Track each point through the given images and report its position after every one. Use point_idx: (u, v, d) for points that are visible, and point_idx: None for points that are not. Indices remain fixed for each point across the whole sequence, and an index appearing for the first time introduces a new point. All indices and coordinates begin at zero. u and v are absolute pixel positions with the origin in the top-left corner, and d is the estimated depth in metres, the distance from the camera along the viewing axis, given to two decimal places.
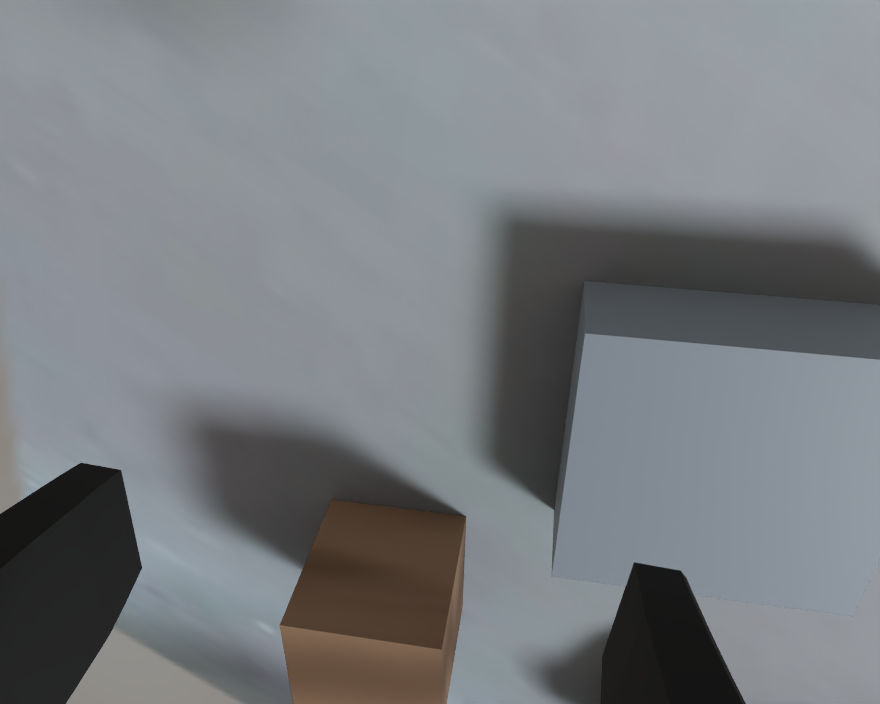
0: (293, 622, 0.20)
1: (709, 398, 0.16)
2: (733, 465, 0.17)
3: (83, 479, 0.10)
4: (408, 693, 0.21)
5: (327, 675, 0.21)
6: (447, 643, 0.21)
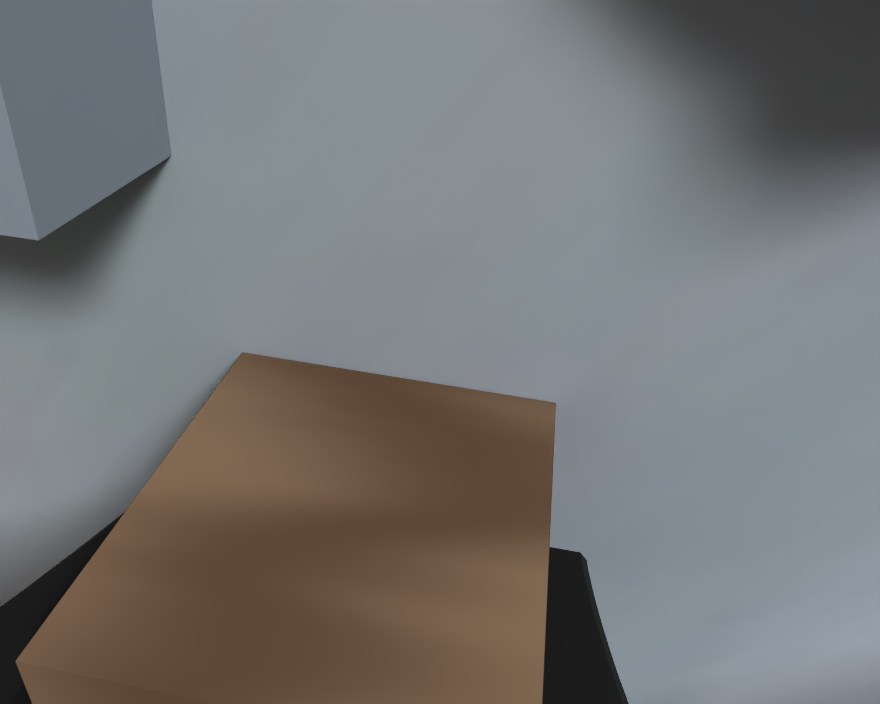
0: None
1: None
2: None
3: None
4: None
5: None
6: (221, 582, 0.07)
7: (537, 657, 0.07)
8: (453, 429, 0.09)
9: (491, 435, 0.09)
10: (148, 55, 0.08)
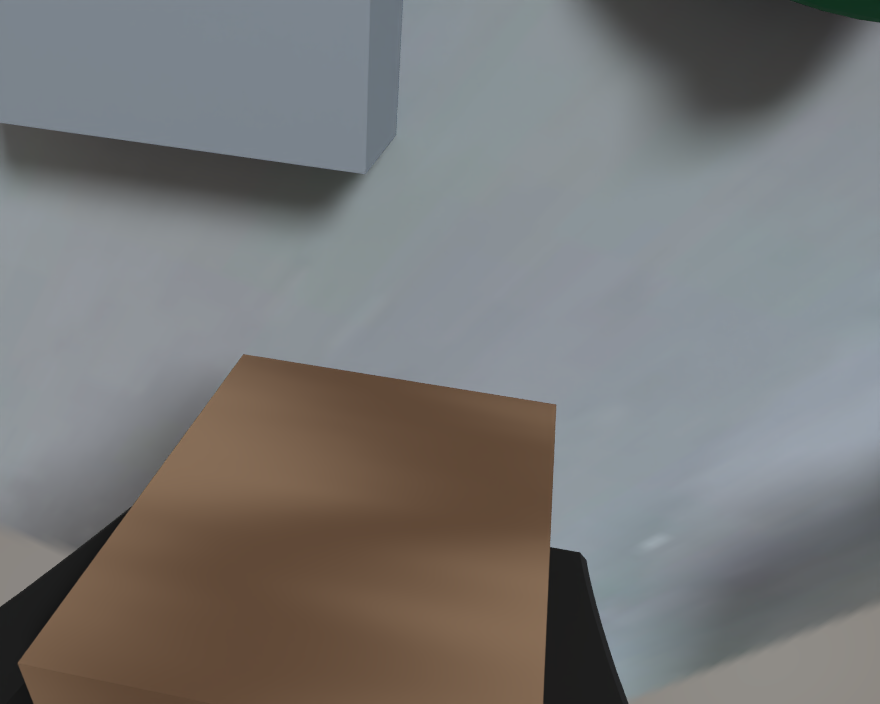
0: None
1: None
2: None
3: None
4: None
5: None
6: (223, 583, 0.07)
7: (537, 658, 0.07)
8: (454, 431, 0.09)
9: (492, 437, 0.09)
10: (396, 78, 0.15)
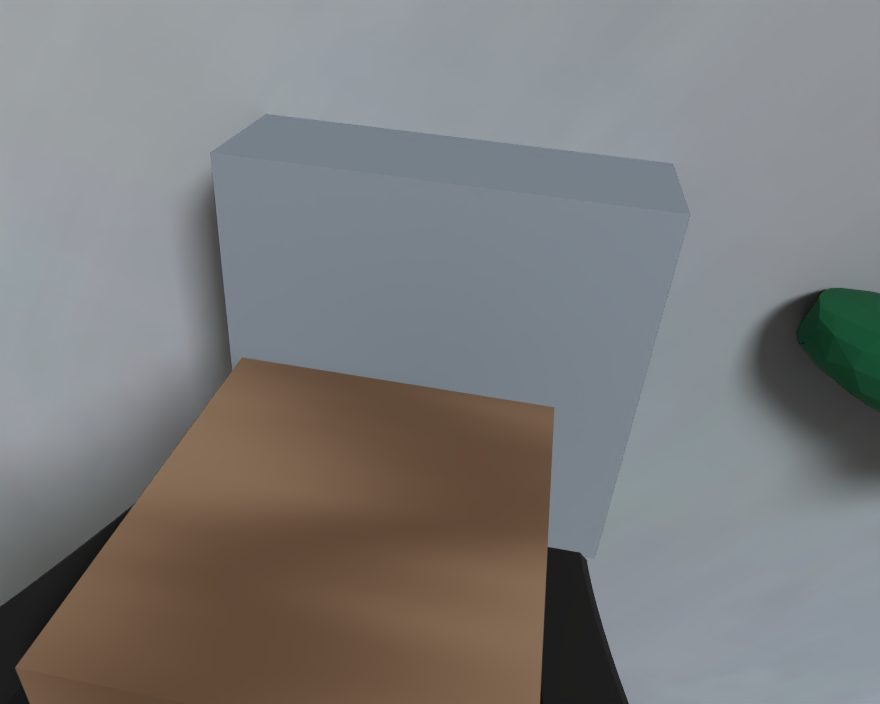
0: None
1: None
2: (389, 379, 0.14)
3: None
4: None
5: None
6: (220, 588, 0.07)
7: (534, 661, 0.07)
8: (452, 434, 0.09)
9: (490, 440, 0.09)
10: None
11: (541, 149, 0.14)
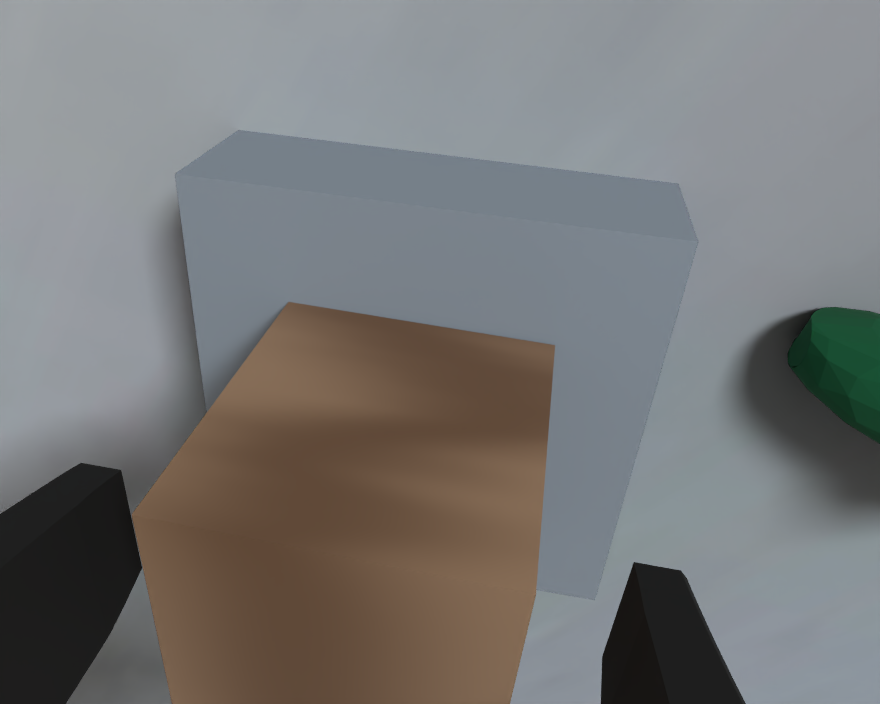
0: None
1: None
2: None
3: (83, 479, 0.10)
4: (327, 609, 0.08)
5: None
6: (285, 467, 0.09)
7: (535, 523, 0.08)
8: (468, 363, 0.11)
9: (500, 368, 0.11)
10: None
11: (536, 166, 0.13)
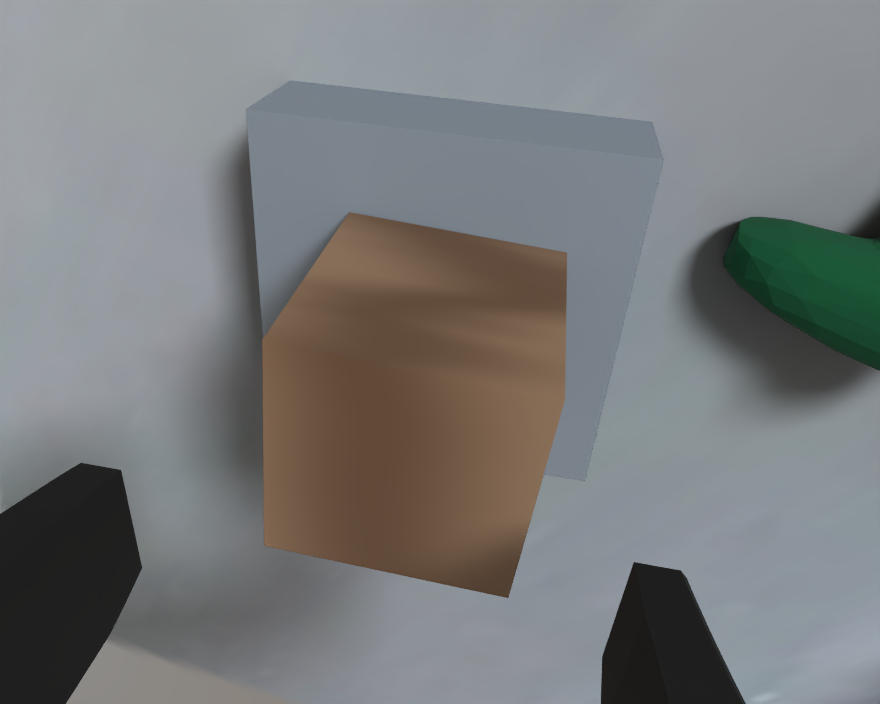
0: None
1: None
2: None
3: (84, 479, 0.10)
4: (405, 418, 0.11)
5: (376, 522, 0.12)
6: (370, 317, 0.12)
7: (561, 359, 0.11)
8: (500, 260, 0.14)
9: (525, 265, 0.14)
10: None
11: (535, 109, 0.16)
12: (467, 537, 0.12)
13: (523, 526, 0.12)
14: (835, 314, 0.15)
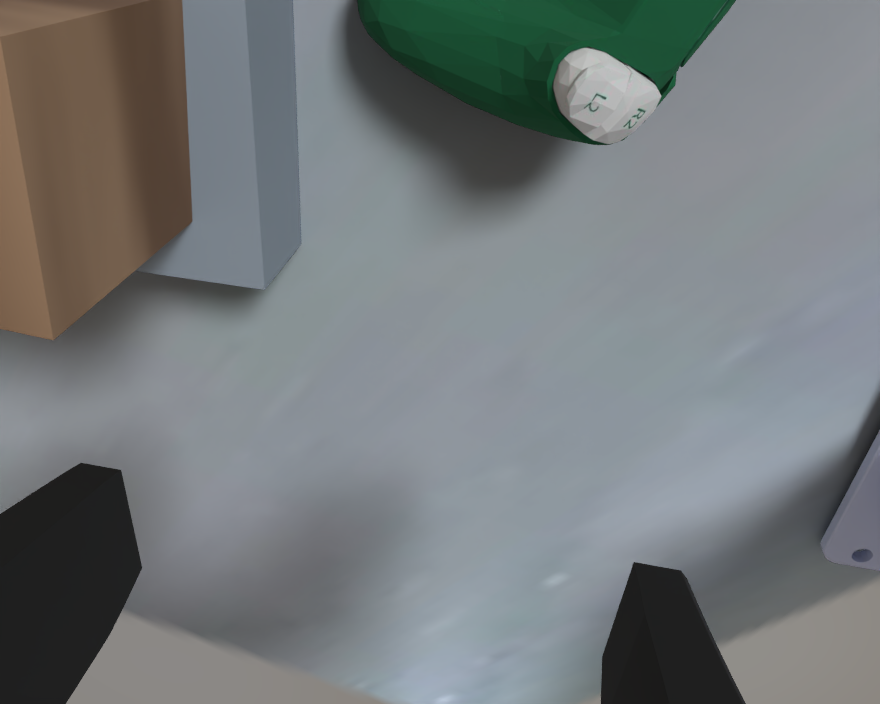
0: None
1: None
2: None
3: (84, 478, 0.10)
4: None
5: None
6: None
7: (44, 23, 0.10)
8: None
9: None
10: (297, 200, 0.18)
11: None
12: None
13: (28, 232, 0.10)
14: (440, 45, 0.13)
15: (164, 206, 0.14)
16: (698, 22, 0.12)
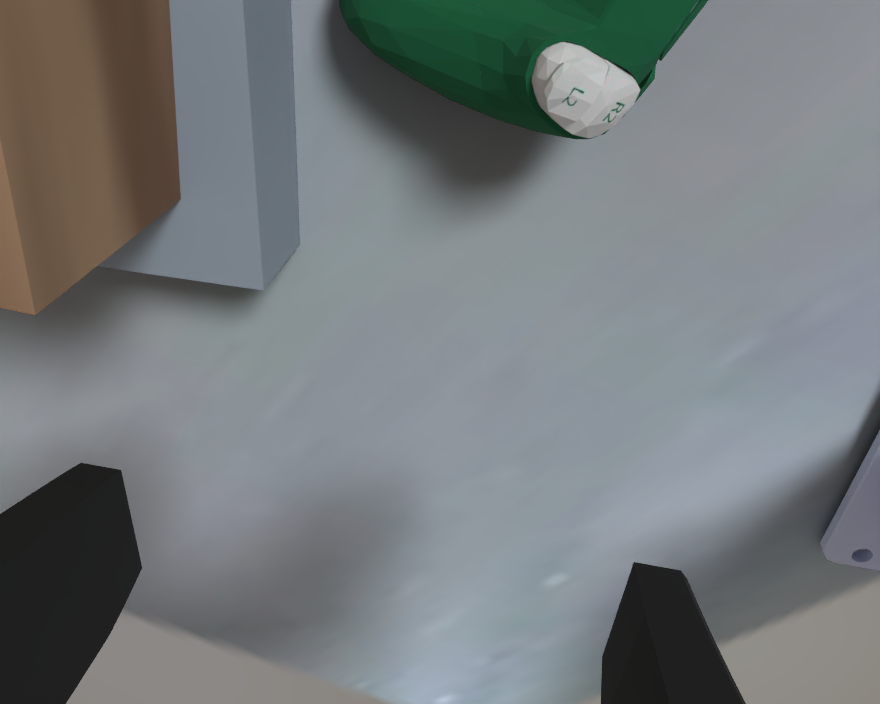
0: None
1: None
2: None
3: (84, 478, 0.10)
4: None
5: None
6: None
7: None
8: None
9: None
10: (296, 201, 0.18)
11: None
12: None
13: (7, 204, 0.10)
14: (420, 40, 0.13)
15: (151, 182, 0.14)
16: (675, 15, 0.12)
